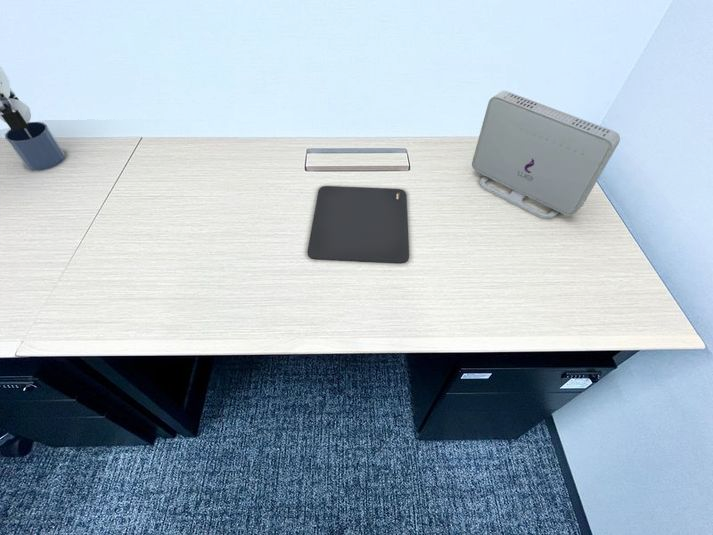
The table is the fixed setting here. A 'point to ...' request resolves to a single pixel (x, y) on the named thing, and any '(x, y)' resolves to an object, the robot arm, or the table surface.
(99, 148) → the table surface
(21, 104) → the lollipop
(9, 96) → the robot arm
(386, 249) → the mouse pad
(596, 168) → the network device
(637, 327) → the table surface
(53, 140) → the cup
